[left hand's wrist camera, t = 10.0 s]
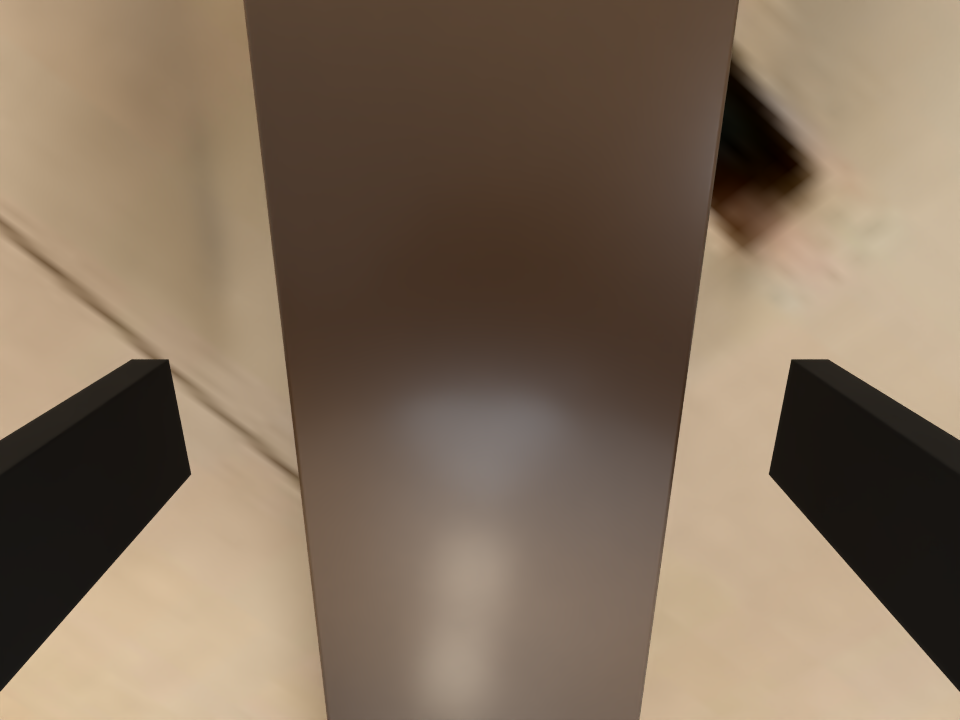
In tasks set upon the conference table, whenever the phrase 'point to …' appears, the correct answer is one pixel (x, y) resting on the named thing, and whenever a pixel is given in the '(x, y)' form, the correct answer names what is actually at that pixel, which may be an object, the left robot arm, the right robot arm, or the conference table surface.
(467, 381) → the bar
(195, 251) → the conference table surface
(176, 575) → the conference table surface
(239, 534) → the conference table surface
